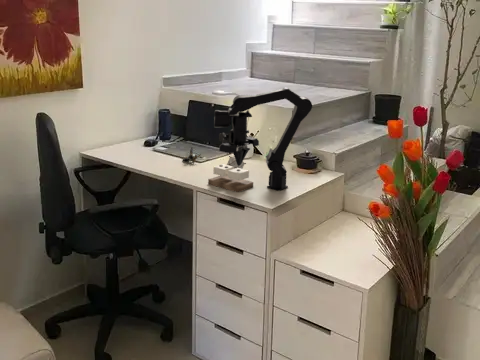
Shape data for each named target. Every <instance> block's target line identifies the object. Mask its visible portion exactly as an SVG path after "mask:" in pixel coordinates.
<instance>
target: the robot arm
mask: <svg viewBox="0 0 480 360" xmlns="http://www.w3.org/2000/svg"><path fill="white" fill-rule="evenodd" d="M282 100H286V101H289V103H291V104H292V105H294V106H293V109H292V115H291V118H290V120H289V121H288V123H287V125H286V127H285V129H284V130H283V133H282V135H281V137H280V139H279V140H278V143H277V144H276V146H275V147H274V149H272V148H269V151H268V152H267V154H266V155H265V158H266V159H265V163H266V166H267V168H268V170H269V171H270V172H269V175H268V185H267V186H266V188H268V189H270V190H271V189H272V190H275V191H279V192H280V191H282V190H285V189H287V188H289V185H287V171H288V170H287V169H286V167H285V165H284V164H283V162H284V160H285V154H286V151H287V149H288V148H289V147H290V144H291V142H292V140H293V138H294V137H295V134H296V132H297V131H298V128H299V126H300V124H301V122H302V121H303V120H304V119H305V118H306V117H307V116H308V115H309V113H310V112H311V111H312V108H313V103H312V101H311V100H310V99H309V98H308V97H306V96H300V95H299V94H297V93H295V92H294V91H292V90H291V89H290V88H289V87H283V88H279V89H276V90H272V91H267V92H262V93H258V94H238V95H236V96H235V97H234V98H233V100H232V104H231V105H230V107H228V109H227V110H219V109H215V110H214V117H213V119H214V120H213V127H214V128H219V129H221V128H226V129H227V128H229V127H230V126H231V125H232V129H230V130H229V133H225V132H222V133H219V134H218V140H219V142H221V143H220V145H219V147H218V148H219V149H218V150H219V152H221V153H227V154H233V157H235V159H236V162H237V165H238V166H240V165H241V164H242V162H244V161H245V158H246V155H247V154H248V152H249V151H250V150H251V148H250V147H248V145H252V146H253V147H258V146H259V144H260V141H259V139H258V138H256V137H251V136H247V135H248V134H249V133H250V130H249V129H248V118H252V117H253V115H252V113H251V112H250V111H249V110H251V109H252V108H254V107H257V106H259V105H264V104H269V103H273V102H277V101H282Z"/></svg>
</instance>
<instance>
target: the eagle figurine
mask: <svg viewBox="0 0 480 360" xmlns="http://www.w3.org/2000/svg"><path fill="white" fill-rule="evenodd" d="M193 154H194V149H193V147H191V148H190V150H189V154H188V155H187V156H185V157H183V159H182V161H185V160H186V161H187V160H190V161H192V164H193V165H194V164H195V162H196V160H197V159H198V158H199V157H201V156H202V154H201V153H199V155H197V154H195V155H193Z"/></svg>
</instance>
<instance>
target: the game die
mask: <svg viewBox="0 0 480 360" xmlns="http://www.w3.org/2000/svg"><path fill="white" fill-rule="evenodd" d="M228 156H229V157H228V161H227V163H226V165H229V166H233V167H234V169H235V168H241V169H244V166H245V165H246V164H247V163H246V162H244V161H243V162H242V164H241V165H240V166H238V165H237V162H236V159H235V156H231V155H228Z"/></svg>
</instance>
